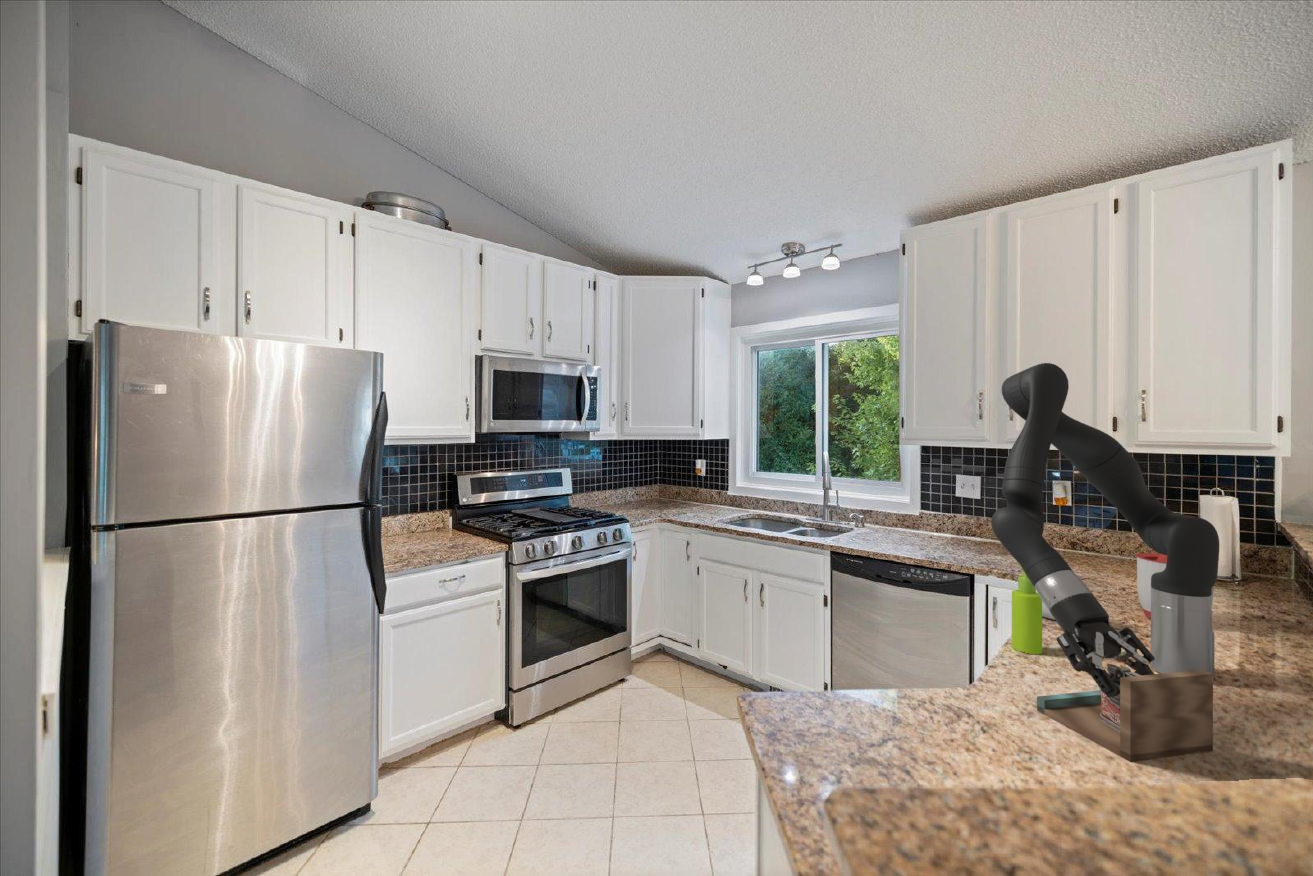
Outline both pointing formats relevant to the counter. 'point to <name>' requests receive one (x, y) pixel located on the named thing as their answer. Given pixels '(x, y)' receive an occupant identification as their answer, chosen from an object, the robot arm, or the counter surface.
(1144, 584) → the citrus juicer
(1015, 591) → the soap dispenser
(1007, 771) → the counter surface
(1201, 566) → the robot arm
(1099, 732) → the wall holder
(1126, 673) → the lighter
